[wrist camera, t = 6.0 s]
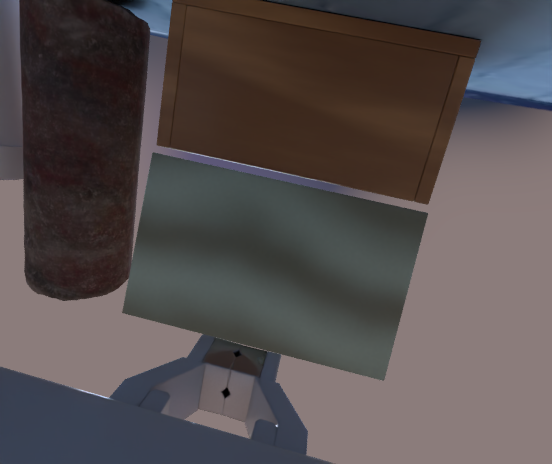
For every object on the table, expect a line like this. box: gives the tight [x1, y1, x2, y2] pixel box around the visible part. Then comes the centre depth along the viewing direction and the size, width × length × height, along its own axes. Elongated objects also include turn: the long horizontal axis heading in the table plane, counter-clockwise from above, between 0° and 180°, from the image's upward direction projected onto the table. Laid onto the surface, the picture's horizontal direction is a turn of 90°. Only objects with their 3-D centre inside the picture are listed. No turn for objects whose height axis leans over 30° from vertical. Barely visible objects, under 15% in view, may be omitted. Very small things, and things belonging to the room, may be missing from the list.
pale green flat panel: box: [122, 153, 428, 380], centre depth 20 cm, size 10×16×1 cm
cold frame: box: [157, 0, 481, 204], centre depth 23 cm, size 9×16×8 cm, turn 98°
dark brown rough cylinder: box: [19, 0, 150, 301], centre depth 25 cm, size 8×7×20 cm
